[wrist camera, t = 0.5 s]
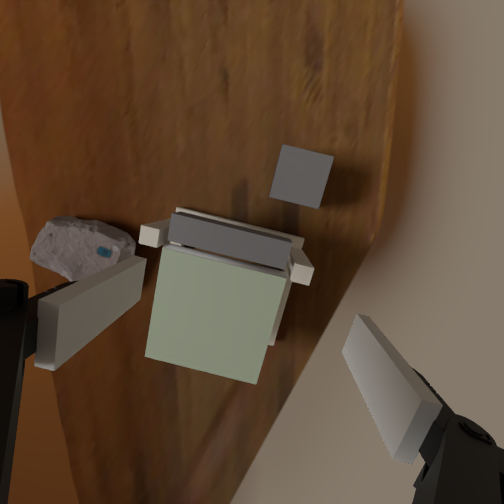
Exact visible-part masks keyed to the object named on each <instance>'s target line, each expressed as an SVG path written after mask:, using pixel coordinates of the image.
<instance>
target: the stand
mask: <svg viewBox="0 0 504 504" xmlns="http://www.w3.org/2000/svg"><path fill="white" fill-rule="evenodd" d="M180 211H181V212H185V213H189V214H193V215H197V216H201V217H205V218H209V219H213V220H217V221H221V222H226V223H230V224H234V225H238V226H242V227H246V228H250V229H254V230H258V231H262V232H266V233H270V234H274V235H278V236H282V237H286V238H290V239H291V241H292V247H291V250H290V254H289V257H288V261H287V265H286V268H285V270H284V269H283V272H287V273H288V275H287V280H286V283H285V287H284V290H283V294H282V297H281V301H280V304H279V308H278V311H277V314H276V318H275V321H274V325H273V328H272V332H271V335H270V339H269V342H268V345H272V346H274V342H275V339H276V335H277V332H278V328H279V325H280V322H281V318H282V315H283V311H284V308H285V305H286V301H287V298H288V294H289V291H290V287H291V284H292V282H296V283H300V284H304V285H308V286H309V285H310V281H311V278H312V275H313V272H314V267H313V265H312V264H311V262H310V261H309V259H308V258H307V256H306V255H305V253H304V252H303V250H302V246H303V243H304V240H305V239H304V238H303V237H299V236H295V235H291V234H287V233H283V232H279V231H275V230H271V229H267V228H263V227H259V226H255V225H251V224H247V223H243V222H239V221H235V220H231V219H227V218H223V217H219V216H215V215H211V214H207V213H203V212H199V211H195V210H191V209H187V208H183V207H176V212H180ZM170 221H171V219H166V220H162V221H157V222H153V223H149V224H144V225H141V230H140V237H139V244H143V245H147V246H151V247H155V248H157V247H159V246H162V245H164V243H165V242H167V243H168V242H170V241H167V240H168V233H169V227H170ZM170 243H171V244H175V245H179V246H183V247H184V245H183V244H179V243H175V242H170Z"/></svg>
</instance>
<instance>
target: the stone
mask: <svg viewBox="0 0 504 504" xmlns="http://www.w3.org/2000/svg"><path fill="white" fill-rule="evenodd" d="M135 248H136V242H135V241H134V240H133V238H132V237H131V236H130V235H129V234H128V233H127V232H125V231H122V230H120V229H118V228H115V227H113V226H110V225H108V224H106V223H104V222H101V221H97V220H82V219H78V218H76V217H72V216H56V217H55V218H53V219H51V220H50V221H47V223H46V226H45V227H44V228H43V229H42V230H41V231H40V233H39V234H38V236H37V239H36V241H35V243H34V245H33V246H32V249H31V252H30V259H31V260H32V261H34V262H35V263H37V264H38V265H40V266H42V267H44V268H48V269H50V270H51V271H54V272H58V273H59V274H60V275H62V276H64V277H66V278H67V279H68V280H69V281H70V282H72V281H80V280H82V279H85V278H87V277H89V276H91V275H93V274H95V273H98V272H100V271H102V270H104V269H106V268H108V267H111V266H113V265H115V264H117V263H119V262H121V261H124V260H126V259H128V258H130V257H132V256H134V255H135Z"/></svg>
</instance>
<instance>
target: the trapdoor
mask: <svg viewBox="0 0 504 504" xmlns="http://www.w3.org/2000/svg"><path fill="white" fill-rule="evenodd" d="M167 241H171V242H175V243H179V244H183V245H187V246H191V247H195V248H199V249H203V250H207V251H211V252H215V253H219V254H223V255H227V256H231V257H235V258H240V259H244V260H248V261H252V262H256V263H260V264H264V265H268V266H272V267H276V268H280V269H284V270H285V268H286V265H287V261H288V257H289V254H290V250H291V247H292V241H291V239H290V238H286V237H282V236H278V235H274V234H270V233H266V232H262V231H258V230H254V229H250V228H246V227H242V226H238V225H234V224H230V223H226V222H221V221H217V220H213V219H209V218H205V217H201V216H197V215H193V214H189V213H185V212H181V211H180V212H175V213H172V215H171V221H170V227H169V233H168V240H167ZM287 275H288V273H287V272H283V271H279V270H275V269H271V268H267V267H263V266H259V265H255V264H251V263H247V262H243V261H239V260H235V259H231V258H227V257H223V256H219V255H215V254H211V253H207V252H203V251H199V250H195V249H191V248H187V247H183V246H179V245H175V244H171V243H167V242H165V243H164V245H163V248H162V254H161V260H160V266H159V272H158V278H157V285H156V291H155V297H154V303H153V309H152V315H151V322H150V328H149V334H148V340H147V346H146V352H145V357H148V358H152V359H156V360H160V361H164V362H168V363H172V364H176V365H180V366H184V367H188V368H192V369H196V370H200V371H204V372H208V373H212V374H216V375H220V376H224V377H228V378H232V379H236V380H240V381H244V382H248V383H252V384H257V380H258V377H259V373H260V370H261V366H262V363H263V359H264V356H265V353H266V349H267V346H268V342H269V339H270V335H271V332H272V328H273V325H274V321H275V318H276V314H277V311H278V308H279V304H280V301H281V297H282V294H283V290H284V287H285V283H286V280H287Z"/></svg>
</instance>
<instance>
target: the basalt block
mask: <svg viewBox="0 0 504 504" xmlns="http://www.w3.org/2000/svg"><path fill="white" fill-rule="evenodd" d="M333 159H334V157H333V156H329V155H325V154H321V153H317V152H313V151H309V150H305V149H300V148H296V147H292V146H288V145H284V144H282V147H281V151H280V154H279V158H278V162H277V166H276V170H275V174H274V178H273V182H272V186H271V190H270V194H269V197H271V198H275V199H279V200H283V201H287V202H291V203H295V204H299V205H303V206H307V207H312V208H316V209H319V206H320V203H321V199H322V196H323V193H324V189H325V186H326V183H327V179H328V176H329V173H330V169H331V166H332V162H333Z"/></svg>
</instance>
